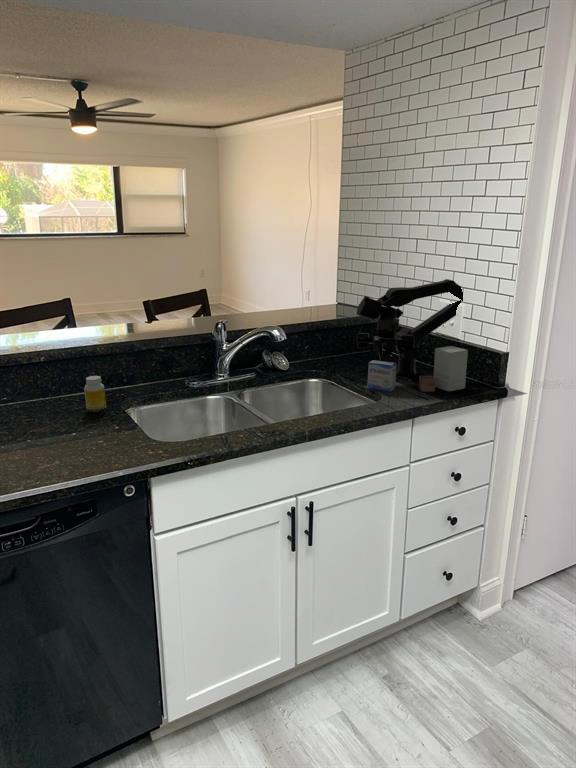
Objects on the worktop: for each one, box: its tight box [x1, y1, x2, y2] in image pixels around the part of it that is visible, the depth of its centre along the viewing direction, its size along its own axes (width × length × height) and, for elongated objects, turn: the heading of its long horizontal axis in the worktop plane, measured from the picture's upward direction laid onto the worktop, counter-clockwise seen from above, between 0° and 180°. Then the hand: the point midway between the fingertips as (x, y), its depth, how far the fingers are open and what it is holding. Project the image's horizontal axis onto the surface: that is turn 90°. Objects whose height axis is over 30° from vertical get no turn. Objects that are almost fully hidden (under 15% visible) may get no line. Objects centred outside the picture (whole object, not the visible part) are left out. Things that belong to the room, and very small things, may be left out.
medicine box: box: [367, 359, 398, 393], centre depth 178 cm, size 8×4×9 cm, turn 62°
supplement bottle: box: [83, 375, 107, 411], centre depth 159 cm, size 5×5×10 cm
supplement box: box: [432, 345, 469, 392], centre depth 179 cm, size 7×7×13 cm
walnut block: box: [418, 375, 436, 393], centre depth 178 cm, size 4×4×4 cm
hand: (382, 363), depth 182 cm, fingers closed
